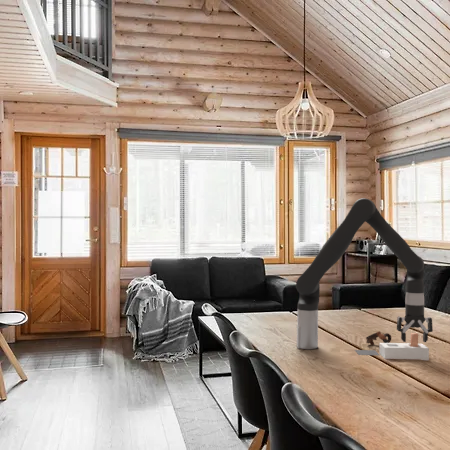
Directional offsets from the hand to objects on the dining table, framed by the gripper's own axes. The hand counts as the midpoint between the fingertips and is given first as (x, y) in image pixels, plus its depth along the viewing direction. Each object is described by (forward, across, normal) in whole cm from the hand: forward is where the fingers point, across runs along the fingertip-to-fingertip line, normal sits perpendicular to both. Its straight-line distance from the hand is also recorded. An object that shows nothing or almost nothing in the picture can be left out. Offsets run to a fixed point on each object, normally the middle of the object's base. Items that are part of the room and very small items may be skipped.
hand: (414, 341), depth 229 cm
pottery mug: (+7, -10, +19) cm, 22 cm away
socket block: (+7, -4, 0) cm, 8 cm away
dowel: (+7, 0, 0) cm, 7 cm away
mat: (+7, -18, +6) cm, 21 cm away
